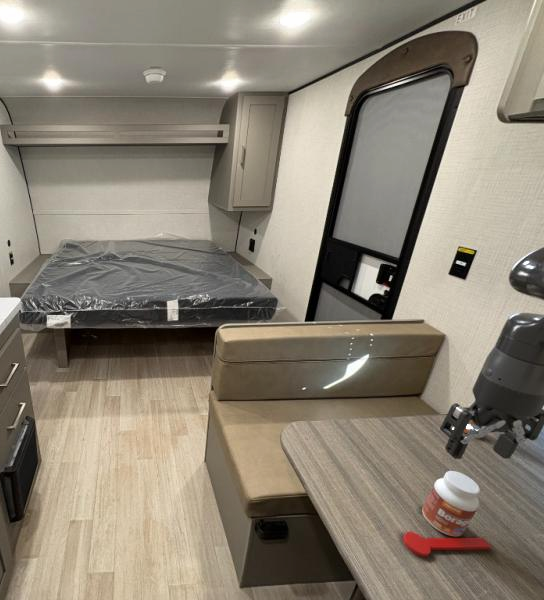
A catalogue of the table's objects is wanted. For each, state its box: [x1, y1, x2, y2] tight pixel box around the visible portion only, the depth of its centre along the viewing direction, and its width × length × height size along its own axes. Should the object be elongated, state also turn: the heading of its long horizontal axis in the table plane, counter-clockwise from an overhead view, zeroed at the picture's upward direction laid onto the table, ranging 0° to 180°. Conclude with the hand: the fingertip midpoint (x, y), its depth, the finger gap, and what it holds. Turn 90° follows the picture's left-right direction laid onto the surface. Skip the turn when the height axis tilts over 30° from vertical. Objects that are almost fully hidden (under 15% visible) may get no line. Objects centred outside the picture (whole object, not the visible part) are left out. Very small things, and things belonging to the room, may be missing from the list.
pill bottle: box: [421, 470, 481, 538], centre depth 60 cm, size 6×6×11 cm
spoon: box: [402, 531, 492, 558], centre depth 58 cm, size 15×4×1 cm, turn 90°
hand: (476, 454), depth 56 cm, fingers open, 8 cm apart
